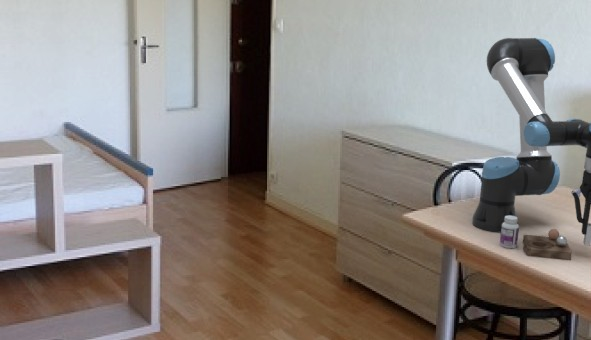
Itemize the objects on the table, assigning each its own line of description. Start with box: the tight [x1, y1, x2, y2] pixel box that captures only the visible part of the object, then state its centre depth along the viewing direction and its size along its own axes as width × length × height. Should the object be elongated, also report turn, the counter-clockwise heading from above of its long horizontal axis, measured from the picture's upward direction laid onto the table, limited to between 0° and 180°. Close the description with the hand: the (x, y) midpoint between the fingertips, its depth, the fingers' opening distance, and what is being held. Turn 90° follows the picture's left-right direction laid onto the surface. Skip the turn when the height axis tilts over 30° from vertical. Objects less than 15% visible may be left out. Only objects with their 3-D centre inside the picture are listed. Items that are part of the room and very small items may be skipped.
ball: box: [556, 235, 568, 246], centre depth 236 cm, size 3×3×3 cm
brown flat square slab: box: [522, 234, 573, 261], centre depth 239 cm, size 14×13×2 cm
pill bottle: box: [499, 215, 520, 249], centre depth 241 cm, size 5×5×10 cm
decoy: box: [547, 228, 560, 240], centre depth 242 cm, size 3×3×3 cm
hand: (586, 244), depth 235 cm, fingers closed
